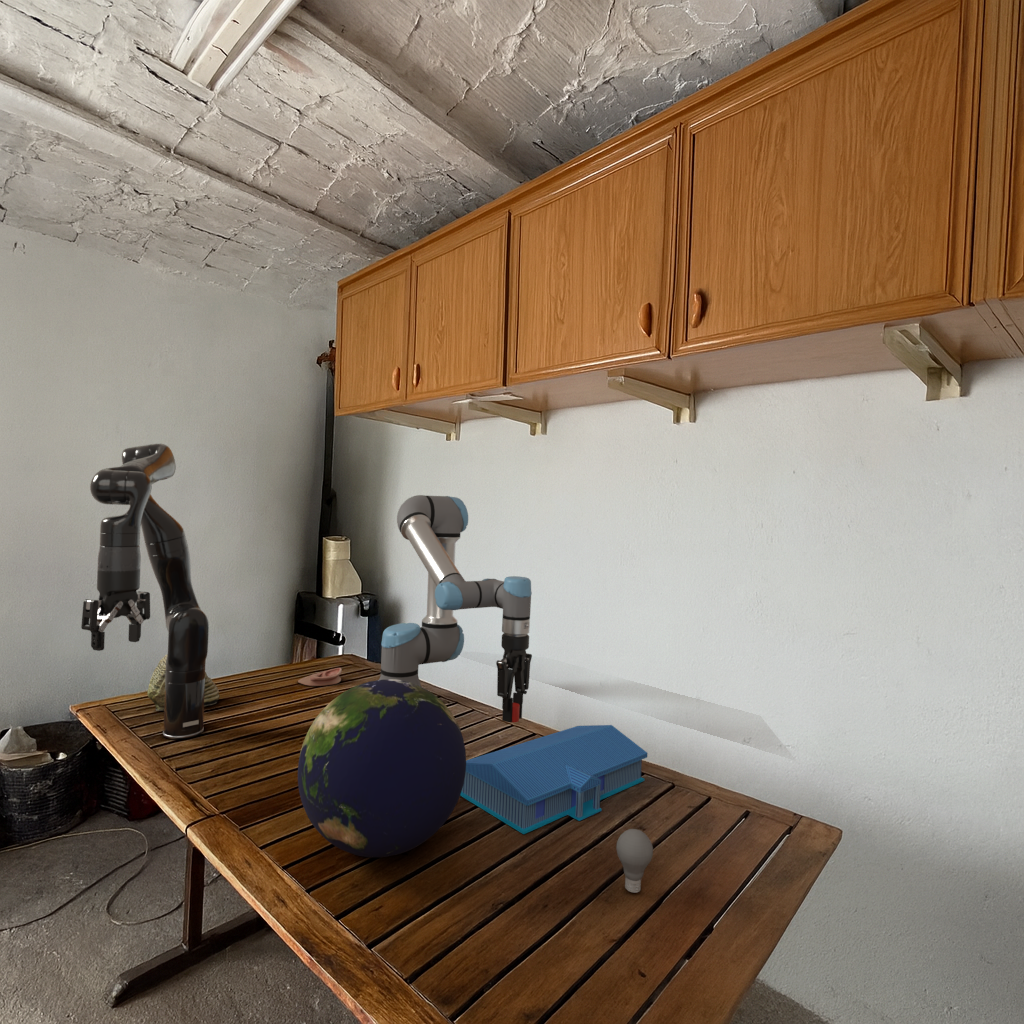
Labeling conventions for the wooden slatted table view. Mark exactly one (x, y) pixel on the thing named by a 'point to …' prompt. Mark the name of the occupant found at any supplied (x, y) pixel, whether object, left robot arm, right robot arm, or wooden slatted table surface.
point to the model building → (553, 776)
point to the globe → (381, 768)
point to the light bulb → (634, 857)
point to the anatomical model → (322, 678)
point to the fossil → (158, 687)
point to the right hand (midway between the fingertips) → (512, 718)
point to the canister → (515, 712)
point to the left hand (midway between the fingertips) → (116, 645)
